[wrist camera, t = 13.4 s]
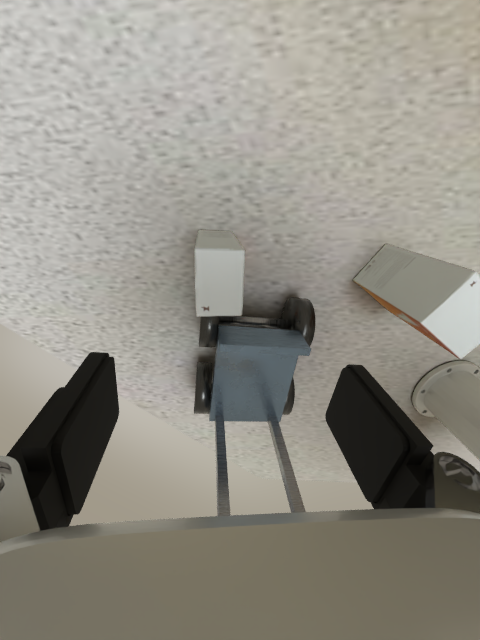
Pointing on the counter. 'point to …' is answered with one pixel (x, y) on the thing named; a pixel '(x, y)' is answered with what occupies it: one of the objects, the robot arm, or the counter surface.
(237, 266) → the skincare box
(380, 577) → the robot arm
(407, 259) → the small box
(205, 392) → the trolley
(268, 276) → the counter surface
